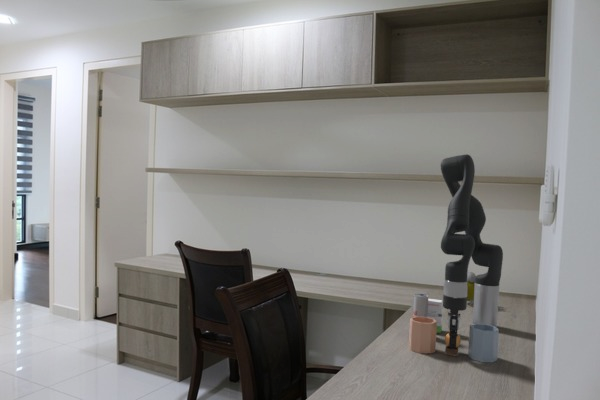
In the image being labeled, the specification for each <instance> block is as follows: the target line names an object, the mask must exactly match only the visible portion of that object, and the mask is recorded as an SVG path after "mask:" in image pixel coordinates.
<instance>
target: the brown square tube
mask: <svg viewBox="0 0 600 400" xmlns="http://www.w3.org/2000/svg"><path fill="white" fill-rule="evenodd" d="M444 351H445V352H444V353H445V354H444V355H446V354H449V355H448V356H453V355H455V356H454V357H459V346H458V347H456V348H450V347H449V346H448V345H447V344H445V350H444Z"/></svg>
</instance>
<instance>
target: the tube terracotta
mask: <svg viewBox="0 0 600 400" xmlns="http://www.w3.org/2000/svg"><path fill="white" fill-rule="evenodd" d="M436 330H437V321H436V320H435V319H432V318H428V317H418V316H415V317H413V316H412V317H410V318H409V333H408V335H409V336H408V337H409V338H408V349H409V350H410V351H411V350H412V352H414V351H415V353H418V354H427V353H430V354H432V353H435V352H436V348H437V347H436V345H437V343H436V342H437V333H436Z"/></svg>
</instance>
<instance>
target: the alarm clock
mask: <svg viewBox="0 0 600 400" xmlns="http://www.w3.org/2000/svg"><path fill="white" fill-rule="evenodd" d="M476 276H477V275H476V274H475V273H474V272H473V271H468V273H467V302H469V303H470V306H471V307H473V306H474V287H475V277H476Z"/></svg>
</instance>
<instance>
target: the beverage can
mask: <svg viewBox="0 0 600 400" xmlns="http://www.w3.org/2000/svg"><path fill="white" fill-rule="evenodd" d="M428 299H429V294H428V295H427V294H425V293H424V294H423V293H415V294H414V295H413V314H412V317H415V316H418V317H427V314H428Z"/></svg>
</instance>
